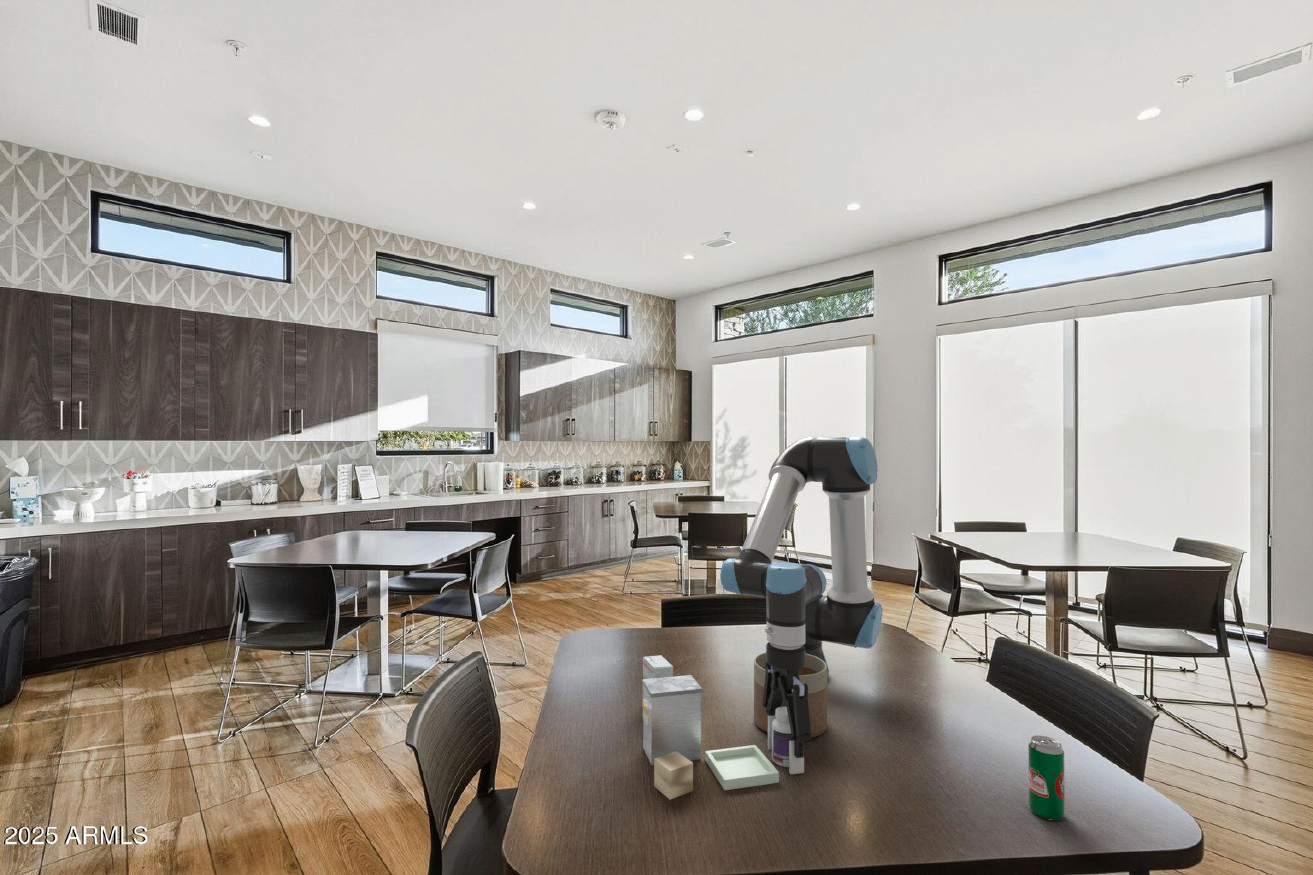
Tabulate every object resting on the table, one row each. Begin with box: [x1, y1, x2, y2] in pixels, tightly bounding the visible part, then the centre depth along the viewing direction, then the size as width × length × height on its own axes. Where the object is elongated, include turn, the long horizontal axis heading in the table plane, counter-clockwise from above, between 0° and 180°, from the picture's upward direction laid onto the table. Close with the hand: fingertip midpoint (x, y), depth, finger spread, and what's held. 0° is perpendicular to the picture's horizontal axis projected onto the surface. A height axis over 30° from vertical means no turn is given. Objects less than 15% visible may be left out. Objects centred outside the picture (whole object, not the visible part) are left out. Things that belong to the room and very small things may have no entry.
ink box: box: [642, 654, 674, 700], centre depth 139 cm, size 9×5×12 cm, turn 20°
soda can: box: [1027, 735, 1066, 821], centre depth 101 cm, size 5×5×12 cm
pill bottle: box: [771, 707, 792, 768], centre depth 117 cm, size 5×5×10 cm
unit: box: [641, 674, 703, 766], centre depth 120 cm, size 11×7×14 cm
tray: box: [704, 744, 780, 791], centre depth 113 cm, size 11×11×2 cm
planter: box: [753, 652, 828, 739], centre depth 133 cm, size 16×16×14 cm
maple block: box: [653, 751, 694, 800], centre depth 107 cm, size 5×5×5 cm
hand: (785, 759), depth 117 cm, fingers open, 9 cm apart
